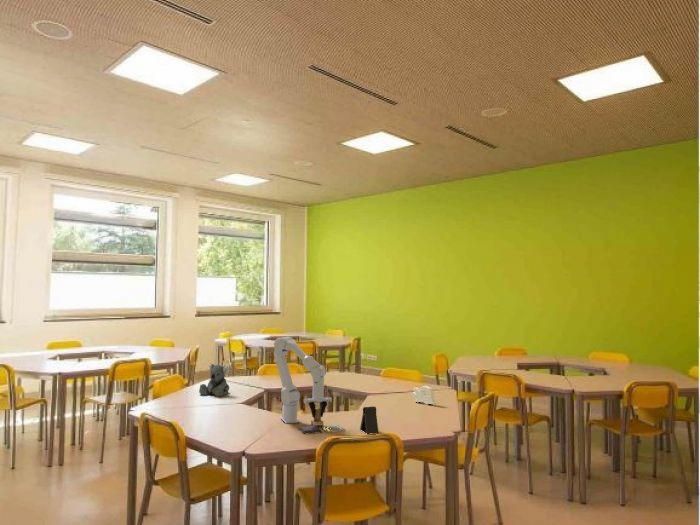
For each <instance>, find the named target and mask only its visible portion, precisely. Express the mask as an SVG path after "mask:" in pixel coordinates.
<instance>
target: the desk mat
mask: <svg viewBox="0 0 700 525" xmlns="http://www.w3.org/2000/svg"><path fill="white" fill-rule="evenodd" d="M322 427H323V428H324V427H325V429H326V428H327V427H329V428H328V429H329V430H330V432H329V433H333V432H332V431H335V432H344V431H343V430H346V429H345V428H343V427H342V426H341V425H339V424H334V425H325V426H324V425H323V426H322ZM330 428H331V429H330ZM327 431H328V430H327V429H326V431H325V432H326V433H328V432H327Z"/></svg>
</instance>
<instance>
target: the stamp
mask: <svg viewBox="0 0 700 525" xmlns="http://www.w3.org/2000/svg"><path fill="white" fill-rule="evenodd" d="M310 420H311V421H310V425H311V426H314V425H315V426H317V427H321V426H324V421H323V420H322V417H321V408H320V407H315V418H313V419H310Z"/></svg>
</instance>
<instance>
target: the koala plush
mask: <svg viewBox="0 0 700 525" xmlns="http://www.w3.org/2000/svg"><path fill="white" fill-rule="evenodd" d="M208 366H209V374H210V375H209V376H210V377H209V378H210V380H209V381H208V383H207V385H206V384H205V383H202V384H200V386H199V389H198V390H199V391H198V393H199V394H200V395H201V396H208V395H209V396H210V395H214V396H215V397H217V398H219V397H223V396H226V395H227V394H228V393H229V391H230V386H229V384H228V383H227V379H226V378H225V377H226V376H227V375H228V374H230V370H231V369H230V366H229V365H227V364H226V365H225V364H224V365H220V364H214V363H209V365H208Z"/></svg>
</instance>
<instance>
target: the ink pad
mask: <svg viewBox="0 0 700 525" xmlns="http://www.w3.org/2000/svg"><path fill="white" fill-rule="evenodd" d="M298 430H299V431H300V432H301V433H302V434H303V435H305V434H306V433H309V434H316V433H315V432H320V433H322V429H320V428H319V426H315V425H314V426H313V425H305V426H298ZM306 435H307V434H306Z"/></svg>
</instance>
